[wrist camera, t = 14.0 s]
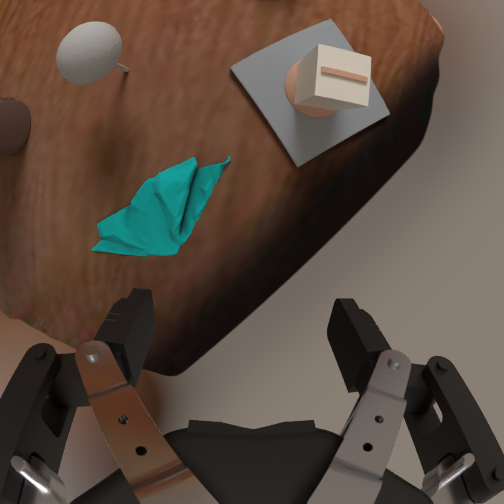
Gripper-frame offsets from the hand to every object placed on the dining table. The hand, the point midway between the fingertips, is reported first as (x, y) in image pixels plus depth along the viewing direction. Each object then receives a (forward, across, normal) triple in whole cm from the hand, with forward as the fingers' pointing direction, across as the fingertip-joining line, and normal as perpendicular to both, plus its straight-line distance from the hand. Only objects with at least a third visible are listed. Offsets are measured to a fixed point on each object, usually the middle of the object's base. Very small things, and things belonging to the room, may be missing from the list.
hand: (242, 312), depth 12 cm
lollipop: (+28, +16, -16) cm, 37 cm away
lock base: (+28, -9, -15) cm, 33 cm away
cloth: (+29, +12, +5) cm, 32 cm away
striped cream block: (+27, -9, -14) cm, 32 cm away
